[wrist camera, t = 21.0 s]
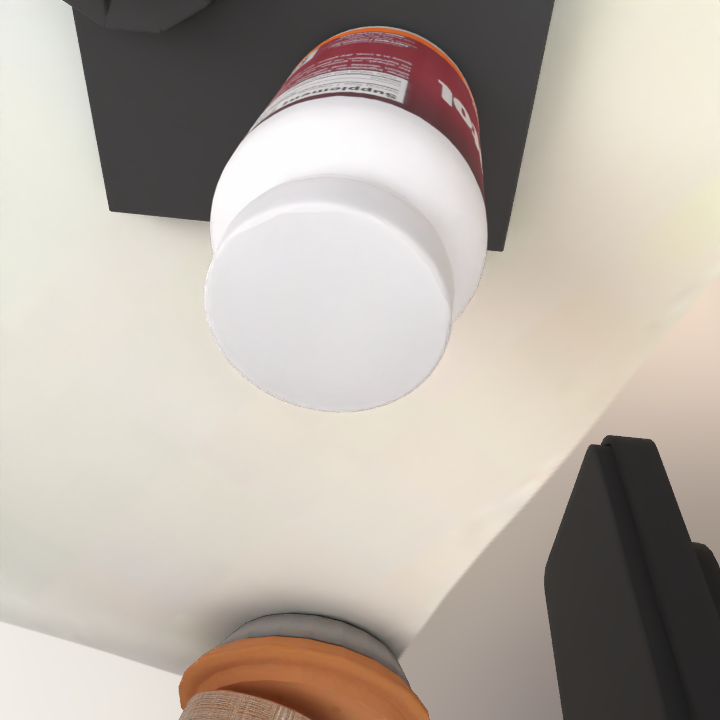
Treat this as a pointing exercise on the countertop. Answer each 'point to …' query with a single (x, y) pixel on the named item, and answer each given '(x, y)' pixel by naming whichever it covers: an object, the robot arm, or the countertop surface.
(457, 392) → the countertop surface
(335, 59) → the pill bottle
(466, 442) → the countertop surface
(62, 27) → the countertop surface
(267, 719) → the planter
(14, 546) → the countertop surface
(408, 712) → the pie
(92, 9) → the scale
